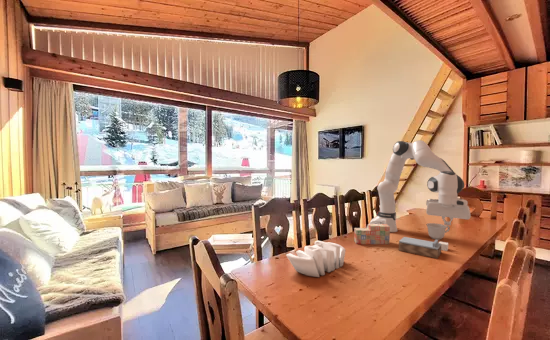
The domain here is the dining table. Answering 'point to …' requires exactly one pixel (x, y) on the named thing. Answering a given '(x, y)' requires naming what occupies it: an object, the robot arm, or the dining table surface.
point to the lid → (421, 243)
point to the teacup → (437, 230)
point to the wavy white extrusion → (318, 258)
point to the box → (419, 250)
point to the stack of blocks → (372, 234)
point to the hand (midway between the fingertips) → (447, 224)
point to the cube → (444, 246)
